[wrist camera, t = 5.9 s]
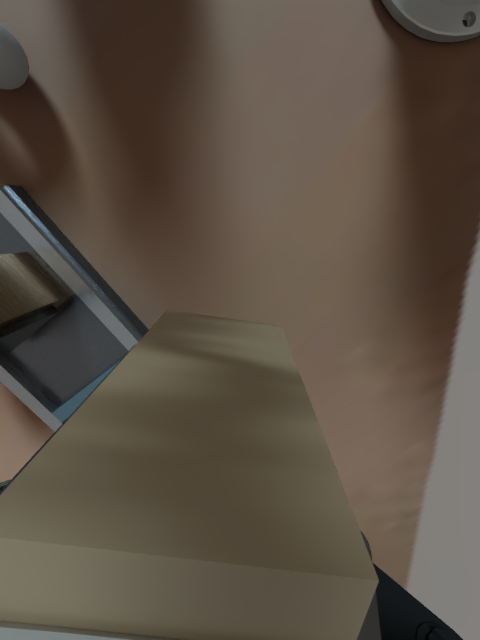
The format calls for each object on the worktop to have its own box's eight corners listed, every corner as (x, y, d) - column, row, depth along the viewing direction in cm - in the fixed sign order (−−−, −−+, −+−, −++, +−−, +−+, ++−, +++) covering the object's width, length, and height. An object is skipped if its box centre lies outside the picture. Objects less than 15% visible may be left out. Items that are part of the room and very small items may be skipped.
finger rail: (21, 186, 25) (-132, 158, 15) (223, 413, 31) (213, 506, 20) (-75, 280, 27) (-265, 312, 17) (130, 475, 33) (80, 586, 23)
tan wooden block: (140, 477, 14) (-20, 870, 6) (151, 308, 12) (-94, 526, 3) (250, 490, 14) (260, 892, 6) (281, 326, 12) (379, 581, 3)
